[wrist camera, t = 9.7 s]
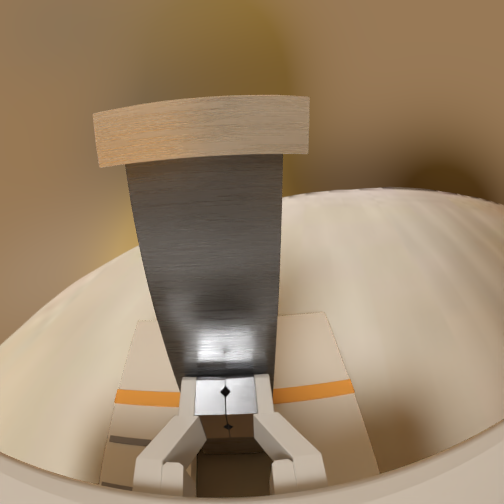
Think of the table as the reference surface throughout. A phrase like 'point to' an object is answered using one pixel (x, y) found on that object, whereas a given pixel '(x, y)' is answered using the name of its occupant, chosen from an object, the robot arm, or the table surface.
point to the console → (284, 400)
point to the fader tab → (210, 225)
